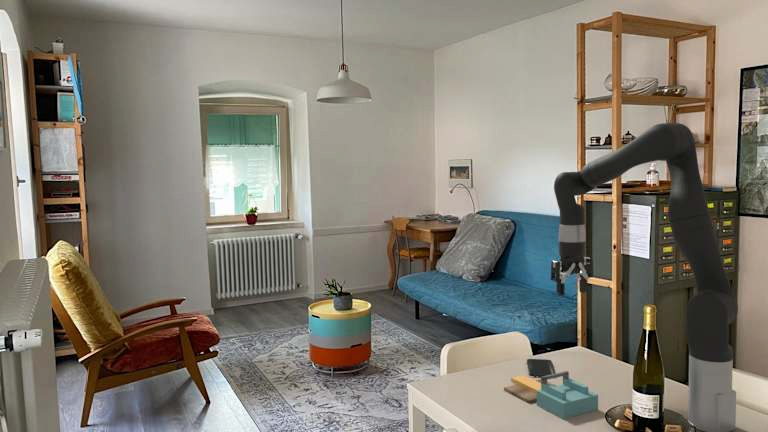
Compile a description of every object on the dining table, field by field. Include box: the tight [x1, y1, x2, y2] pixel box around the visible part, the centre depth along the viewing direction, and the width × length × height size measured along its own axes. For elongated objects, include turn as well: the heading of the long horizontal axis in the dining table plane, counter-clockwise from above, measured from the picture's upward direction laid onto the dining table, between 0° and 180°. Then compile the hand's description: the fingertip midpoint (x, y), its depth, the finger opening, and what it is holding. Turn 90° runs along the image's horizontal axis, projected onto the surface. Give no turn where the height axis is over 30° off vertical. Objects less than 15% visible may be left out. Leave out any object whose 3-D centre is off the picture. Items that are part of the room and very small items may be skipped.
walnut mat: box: [503, 378, 557, 404], centre depth 168 cm, size 11×14×1 cm
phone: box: [526, 358, 556, 378], centre depth 187 cm, size 8×1×15 cm
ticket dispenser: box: [536, 370, 599, 420], centre depth 156 cm, size 10×12×8 cm
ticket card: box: [510, 375, 541, 394], centre depth 169 cm, size 13×5×1 cm, turn 26°
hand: (572, 293), depth 175 cm, fingers open, 8 cm apart
